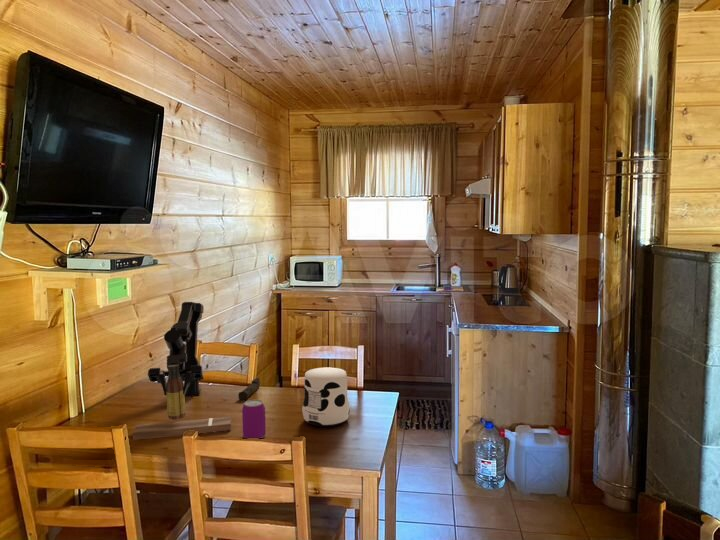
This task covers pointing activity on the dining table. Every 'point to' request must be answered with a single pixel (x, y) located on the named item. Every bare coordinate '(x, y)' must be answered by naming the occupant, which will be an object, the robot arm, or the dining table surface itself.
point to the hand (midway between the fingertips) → (174, 394)
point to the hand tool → (249, 389)
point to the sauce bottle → (175, 393)
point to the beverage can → (254, 419)
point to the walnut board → (181, 427)
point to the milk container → (325, 397)
